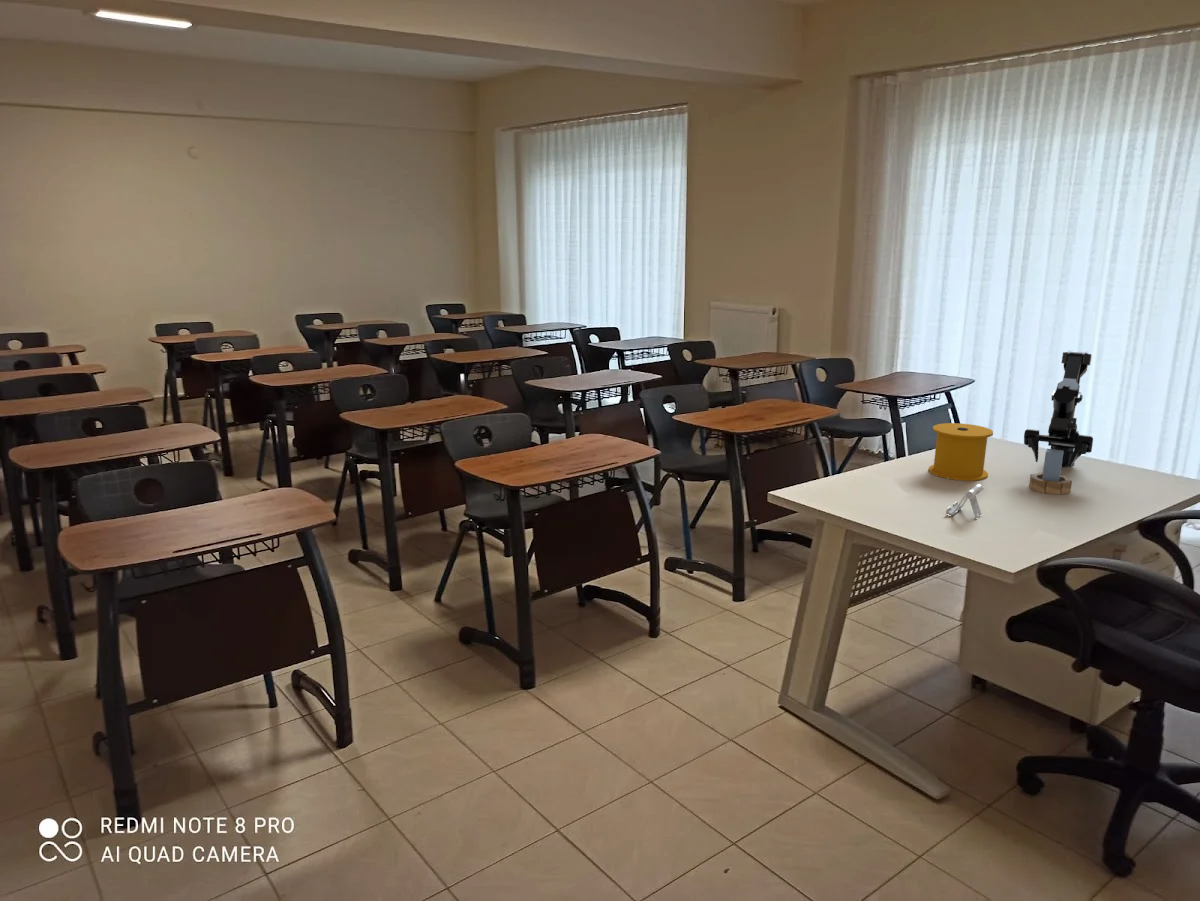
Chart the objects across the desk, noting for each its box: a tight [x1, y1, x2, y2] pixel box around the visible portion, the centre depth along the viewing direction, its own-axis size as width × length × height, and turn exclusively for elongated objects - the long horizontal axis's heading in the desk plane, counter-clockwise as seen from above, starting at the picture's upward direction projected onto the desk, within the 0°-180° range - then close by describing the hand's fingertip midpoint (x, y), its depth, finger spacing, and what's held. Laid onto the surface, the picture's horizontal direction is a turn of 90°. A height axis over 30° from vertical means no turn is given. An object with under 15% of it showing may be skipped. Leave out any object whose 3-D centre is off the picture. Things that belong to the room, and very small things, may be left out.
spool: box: [928, 422, 994, 482], centre depth 274 cm, size 18×18×15 cm
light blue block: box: [1042, 448, 1064, 482], centre depth 258 cm, size 4×4×12 cm
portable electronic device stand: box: [945, 483, 984, 519], centre depth 235 cm, size 9×8×8 cm
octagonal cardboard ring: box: [1028, 472, 1073, 496], centre depth 259 cm, size 11×11×4 cm
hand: (1053, 463), depth 259 cm, fingers open, 9 cm apart
